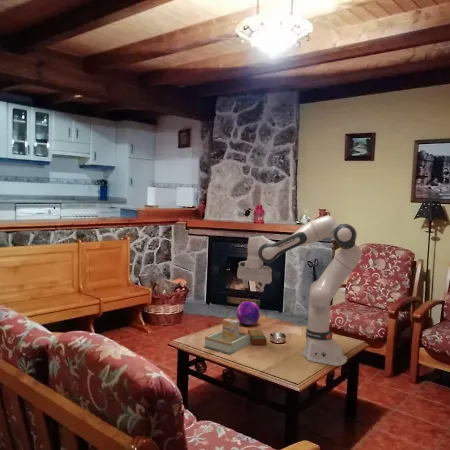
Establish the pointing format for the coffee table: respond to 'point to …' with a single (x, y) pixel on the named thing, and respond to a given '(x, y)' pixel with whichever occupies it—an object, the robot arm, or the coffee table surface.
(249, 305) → the decorative orb
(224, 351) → the crate
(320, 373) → the coffee table surface
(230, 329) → the supplement box
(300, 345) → the coffee table surface
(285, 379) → the coffee table surface
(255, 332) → the carton
